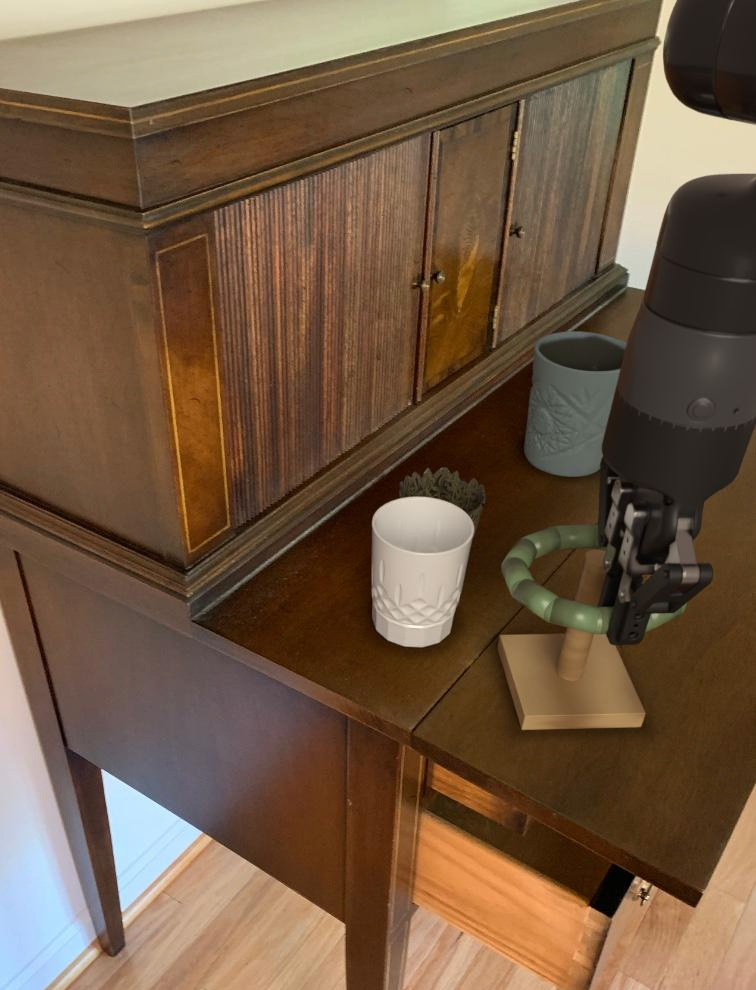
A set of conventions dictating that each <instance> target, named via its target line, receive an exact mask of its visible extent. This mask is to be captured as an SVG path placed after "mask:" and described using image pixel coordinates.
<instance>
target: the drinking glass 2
mask: <svg viewBox="0 0 756 990" xmlns="http://www.w3.org/2000/svg"><path fill="white" fill-rule="evenodd" d="M626 344H627V342H625V341H623V340H621V339H618V338H615V337H612V336H609V335H606V334H602V333H596V332H589V331H582V330H581V331H579V330H578V331H576V330H575V331H574V330H573V331H561V332H555V333H550V334H547V335H545V336H542V337H541V338H539V339H538V340H537V341H536V342H535V344H534V349H533V350H534V351H533V362H532V377H531V384H532V387H531V388H530V391H529V392H530V393H529V399H528V410H527V418H526V419H527V420H526V429H525V437H524V446H523V453H524V456H525V458H526V460H527V461H528V462H529V463H530V465H532V466H533V467H535V468H536V469H538V470H540V471H542V472H544V473H547V474H550V475H554V476H559V477H568V478H571V477H572V478H573V477H574V478H575V477H577V478H578V477H584V476H589V475H592V474H594V473H597V472H598V471H600V463H601V459H602V457H603V454H602V443H603V438H604V434H605V430H606V426H607V422H608V418H609V414H610V410H611V406H612V402H613V398H614V394H615V389H616V385H617V381H618V377H619V373H620V369H621V365H622V361H623V357H624V353H625V348H626Z"/></svg>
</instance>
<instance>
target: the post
mask: <svg viewBox="0 0 756 990" xmlns="http://www.w3.org/2000/svg"><path fill="white" fill-rule="evenodd" d="M605 552H606V551H604V550H599V549H590V550H588V551H586V553H585V554H584V558H583V562H582V566H581V570H580V573H579V578H578V582H577V586H576V589H575V594H574V596H573V601H577V602H581V603H585V604H589V605H593V606H597V605H598V602H599V598H600V594H601V591H602V587H603V584H604V580H605V576H606V573H607V572H606V571H605V569H604V565H603V559H604V555H605ZM497 652H498V655H499V658H500V662H501V666H502V669H503V671H504V675H505V678H506V682H507V686H508V689H509V692H510V696H511V699H512V702H513V706H514V709H515V711H516V715H517V716H516V717H517V719H518V723H519V725H520V729H521V730H522V731H530V730H531V731H532V730H533V731H534V730H567V729H568V730H572V729H575V730H576V729H577V730H578V729H614V728H615V729H617V728H618V729H619V728H620V729H621V728H622V729H623V728H642V726H643V723H644V720H645V717H646V715H647V714H646V710H645V708H644V707H643V703H642V701H641V699H640V697H639V694H638V693H637V690H636V688H635V686H634V684H633V681H632V679H631V677H630V675H629V672H628V670H627V668H626V666H625V664H624V661H623V659H622V657H621V655H620V652H619V650H618V648H617V645H611V644H610V643H609V641H608V638H607V636H606V634H592V633H588V632H584V631H580V630H576V629H572V628H568V627H566V630H565V632H564V633H527V634H526V633H525V634H524V633H523V634H500V635H499V637H498V643H497Z"/></svg>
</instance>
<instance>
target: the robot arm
mask: <svg viewBox="0 0 756 990" xmlns="http://www.w3.org/2000/svg"><path fill="white" fill-rule="evenodd" d="M666 25H667V26H666V29H665V30H666V31H665V34H664V40H663V46H662V63H663V71H664V72H663V73H664V77H665V80H666V82H667V85H668V87H669V89H670V91H671V94H672V95H673V96H674V97H675V98H676V99H677V100H678V102H680V103H681V104H682V105H684V106H685V107H686V108H688V109H691V110H692V111H695V112H696V113H699V114H702V115H706V116H710V117H714V118H719V119H722V120H728V121H734V122H739V123H743V124H749V125H753V126H756V0H676V1H675V3H674V4H673V8H672V10H671V13H670V15H669V18H668V21H667V24H666ZM655 245H656V246H655V249H654V253H653V257H652V260H651V261H652V262H651V265H650V269H649V274H648V278H647V282H646V285H645V290H644V293H643V297H642V299H641V303H640V307H639V309H638V312H637V315H636V317H635V319H634V321H633V324H632V326H631V329H630V332H629V334H628V338H627V341H626V343H627V344H626V348H625V353H624V357H623V361H622V365H621V369H620V373H619V377H618V381H617V385H616V389H615V394H614V398H613V402H612V406H611V410H610V414H609V418H608V422H607V426H606V430H605V434H604V438H603V443H602V454H603V457H602V459H601V463H600V469H599V490H598V516H597V517H598V518H597V525H598V536H597V541H598V545H599V547H600V548H606V552H605V555H604V559H603V565H604V569H605V571H606V572H607V573H606V576H605V580H604V584H603V587H602V591H601V594H600V598H599V602H598V605H597V607H610V606H614V607H613V611H612V614H611V618H610V621H609V626H608V630H607V633H606V636H607V638H608V641H609V643H610V644H611V645H615V646H636V645H638V644H639V645H640V643H642V641H643V639H644V636H645V634H646V632H645V631H646V628H647V625H648V622H649V619H650V615H651V614H660V613H675V612H676V611H677V610H679V609H680V608H681V607H682V606H684V605H685V604H686V603H687V604H688V603H689V602H690V601H691V600H693V598H695V597H696V596H697V595H698V594H700V593H701V592H702V591H704V589H706V588H707V587H708V586H709V585H710V584H712V582H713V580H714V568H713V566H712V563H710V562H697V557H696V552H695V551H696V550H695V546H694V540H696V538H697V537H698V536H699V534H700V533H701V529H702V525H703V514H704V513H703V512H704V506H705V502H706V501H707V500H708V499H709V498H711V497H712V496H713V495H715V494H716V493H718V492H720V491H721V490H723V489H725V488H726V487H728V486H729V485H731V483H733V482H734V481H735V480H736V478H737V477H738V475H739V472H740V469H741V466H742V463H743V461H744V458H745V455H746V452H747V450H748V447H749V445H750V442H751V438H752V436H753V433H754V430H755V428H756V173H716V174H707V175H703V176H699V177H695V178H692V179H690V180H688V181H687V182H685V183H683V184H682V185H680V186H679V187H678V188H677V189H676V190H675V192H674V193H673V194H672V196H671V197H670V199H669V201H668V203H667V206H666V208H665V211H664V214H663V217H662V220H661V224H660V228H659V232H658V235H657V239H656V244H655ZM643 576H650V577H648V578H647V579H646V580H645V581H644V577H643ZM643 581H644V582H643Z"/></svg>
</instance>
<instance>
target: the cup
mask: <svg viewBox="0 0 756 990" xmlns="http://www.w3.org/2000/svg"><path fill="white" fill-rule="evenodd" d="M398 496H399V497H398V499H400V498H405V497H430V498H436V499H440V500H444V501H447V502H449V503H452V504H454V505H456V506H458V507H459V508H461V509H462V510H463V511H465V512H466V513H467V514H468V515H469V517H470V518H471V519H472V521H473V524H474V535H473V539H472V541H473V540H474V537H475V535H476V532H477V529H478V526H479V522H480V519H481V516H482V513H483V509H484V505H485V503H486V499H487V496H486V488H485V485H484V484H479V483H478V480H477V479H476V478H475V477H473V478H471V479H470V481H469V483H467V481H465V480H461V478H460V472H459V471H458V470H455V471H454V472H452V473H451V471H449V469H448V468H447V467H446V466H443V467H440V468H439V469H438V470H436V472H435V473H432V470H431V469H430V468H429V467H427V468H426V469H425V470H424V472H423V475H422V477H421V475H420V474H419V472H417V471H414V472H412V474H411V476H409V475H408V474H407V475H406V476H405V478H404V480H403V481H400V482H399V490H398Z"/></svg>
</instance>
